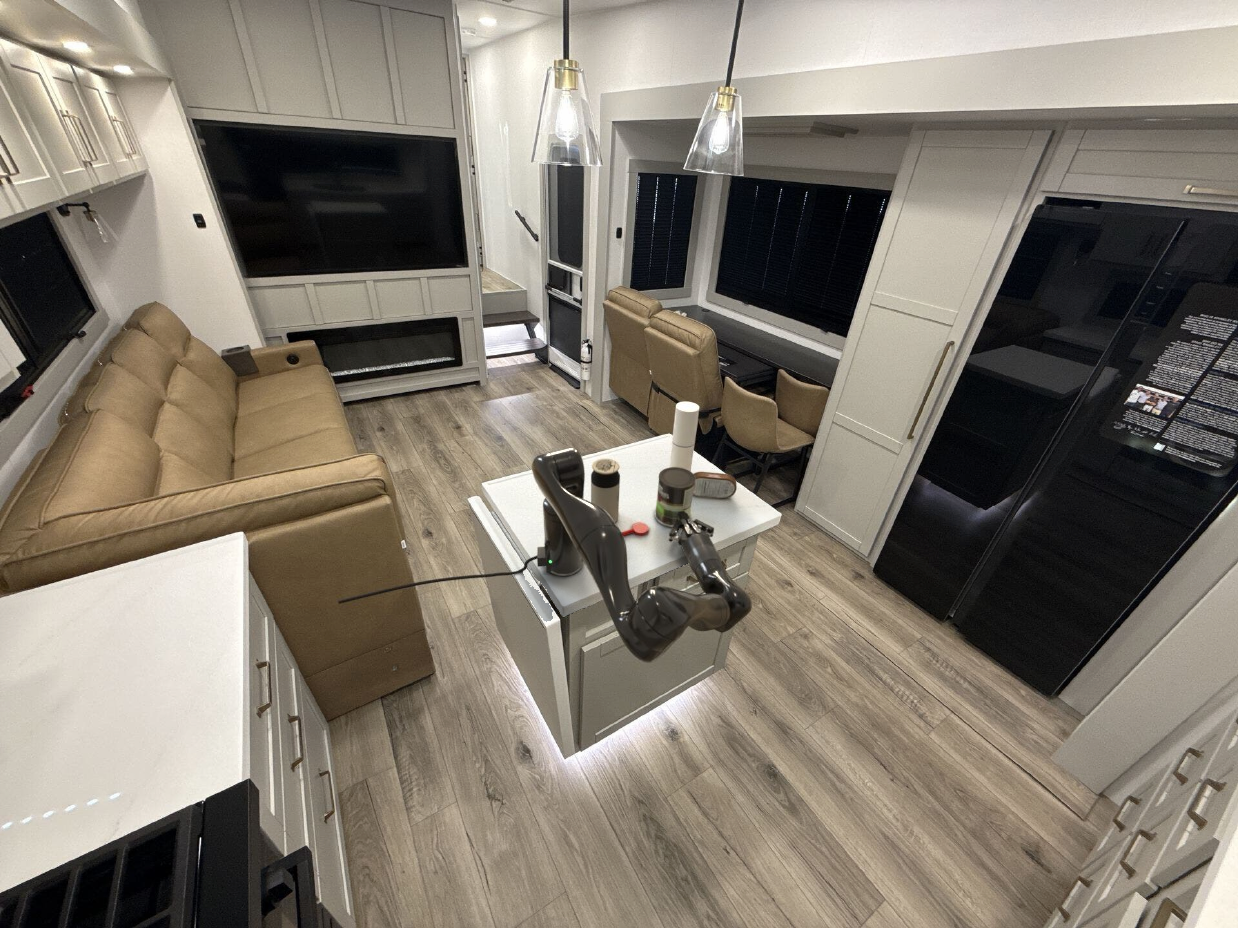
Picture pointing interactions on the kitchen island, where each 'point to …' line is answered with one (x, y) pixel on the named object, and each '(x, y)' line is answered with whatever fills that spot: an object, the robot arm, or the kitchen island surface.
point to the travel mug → (606, 486)
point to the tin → (714, 485)
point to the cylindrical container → (684, 435)
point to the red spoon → (637, 529)
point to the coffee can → (674, 494)
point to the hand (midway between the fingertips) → (681, 513)
